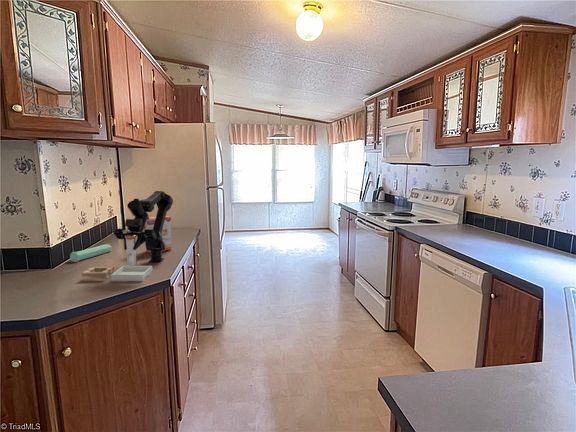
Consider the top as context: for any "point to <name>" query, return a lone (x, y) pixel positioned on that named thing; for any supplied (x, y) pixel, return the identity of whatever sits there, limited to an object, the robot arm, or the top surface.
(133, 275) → the tray
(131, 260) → the clear tall cylinder
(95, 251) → the container
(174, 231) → the top surface
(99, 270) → the socket block
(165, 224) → the cracker box
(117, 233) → the robot arm
